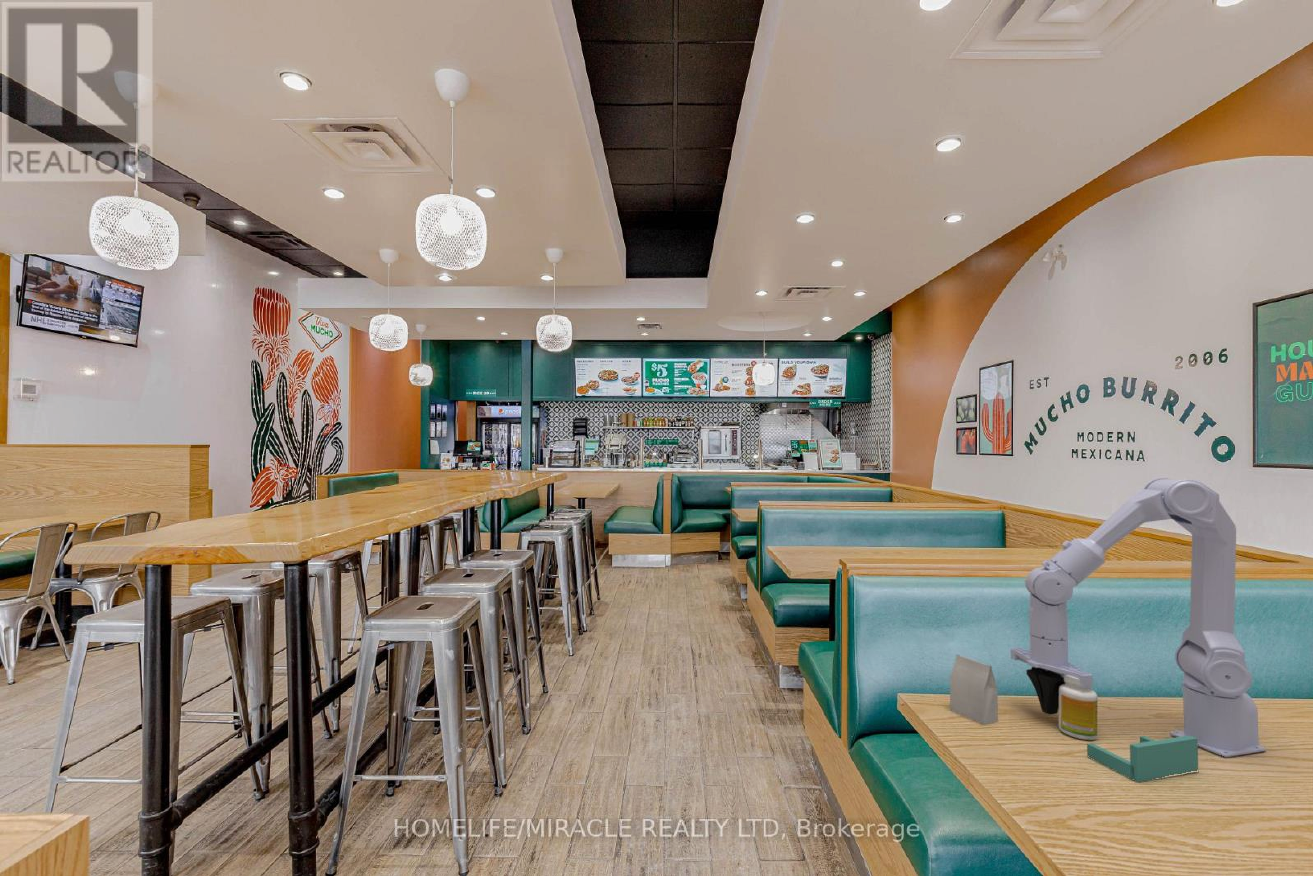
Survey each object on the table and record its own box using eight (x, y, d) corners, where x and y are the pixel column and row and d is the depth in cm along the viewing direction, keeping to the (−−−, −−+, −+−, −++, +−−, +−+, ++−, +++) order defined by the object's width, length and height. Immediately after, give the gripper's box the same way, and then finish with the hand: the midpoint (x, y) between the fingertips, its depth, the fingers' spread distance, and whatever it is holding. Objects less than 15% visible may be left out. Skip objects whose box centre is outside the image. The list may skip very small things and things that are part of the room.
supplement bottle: (1103, 743, 95) (1103, 683, 96) (1065, 737, 96) (1066, 678, 97) (1088, 729, 100) (1089, 672, 101) (1053, 724, 102) (1054, 668, 102)
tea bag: (984, 725, 101) (983, 667, 102) (950, 710, 107) (949, 655, 108) (997, 721, 103) (997, 665, 103) (963, 706, 109) (963, 653, 109)
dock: (1144, 748, 94) (1144, 717, 94) (1198, 772, 86) (1197, 738, 87) (1087, 756, 91) (1086, 724, 91) (1137, 782, 83) (1137, 747, 83)
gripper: (997, 626, 110) (998, 698, 109) (1068, 650, 96) (1070, 733, 95) (1027, 624, 112) (1028, 695, 111) (1101, 647, 98) (1103, 729, 97)
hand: (1049, 712), depth 103 cm, fingers closed
